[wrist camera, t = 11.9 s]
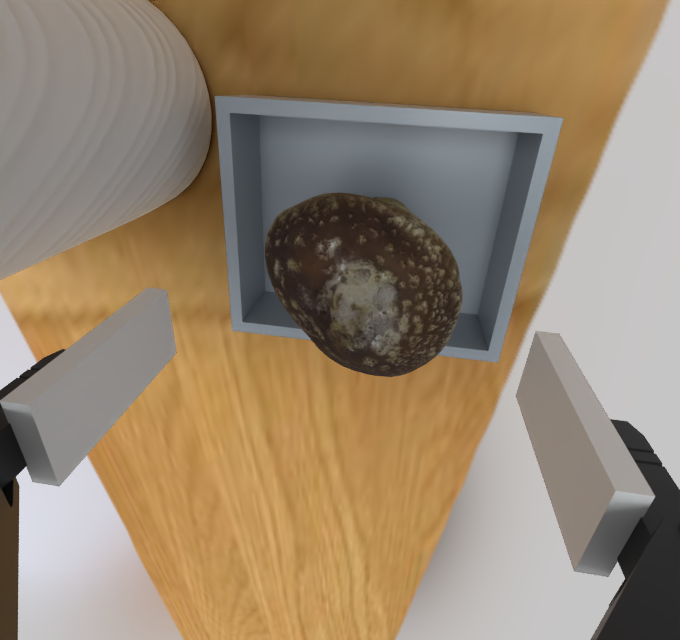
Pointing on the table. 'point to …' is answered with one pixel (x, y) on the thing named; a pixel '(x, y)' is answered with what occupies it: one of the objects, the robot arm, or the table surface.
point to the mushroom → (365, 281)
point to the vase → (92, 121)
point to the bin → (387, 193)
